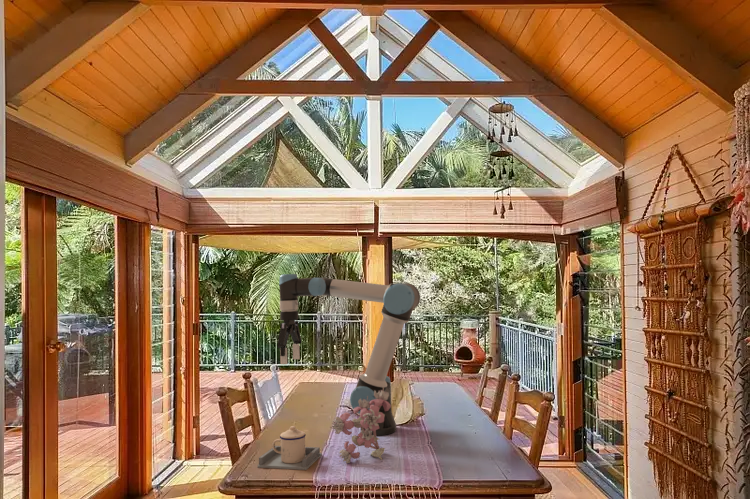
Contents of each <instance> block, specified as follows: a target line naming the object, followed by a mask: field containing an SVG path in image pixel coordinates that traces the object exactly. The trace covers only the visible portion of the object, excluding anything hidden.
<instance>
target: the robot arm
mask: <svg viewBox="0 0 750 499" xmlns="http://www.w3.org/2000/svg"><path fill="white" fill-rule="evenodd" d="M278 280H279V281H278V282H279V284H278V286H279V287H278V288H279V310H280V312H279V316H280V317H279V318H280V321H283V322H282V323H280V324H279V326H280V327H279V328H280V329H279V333H278V334H279V335H278V340H277V349H279V351H280V352H279V353H280V354H279V355H280V356H279V358H280V359H279V360H280V361H279V362H280V365H288V348H287V344H288V341H289V337H290V336H291V337H290V338H291V339H292V342H293V344H292V357H293V358H292V359H293V360H300V359H301V356H300V344H302V342H303V341H302V336H301V332H300V327H299V321H298V320H299V312H298V309H299V302H298V300H299V298H298V297H319V296H327V297H328V296H329V297H336V298H344V299H351V300H359V301H367V302H374V303H381V304H382V303H383V306H382V309H381V314H382V317H383V318H382V321H381V324H380V327H379V331H378V332H377V336H376V339H375V341H374V345H373V347H372V350H371V354H370V355H369V360H368V362H367V366H366V368H365V372H364V373H362V374H360V375H359V377H358V381H357V384H356V386H355V388H354V389H352V392H351V394H350V396H349V401H350V406H351V407H352V410H354V408H356V407H360V406H359V403H358V400H359V399H361V400H362V401H363V399H365V400H366V401H367V402H368V401H369V402H370V401H371V400H374V399H376V398H375V397H374V391H376V393H378V392H379V391H380V393H381V390H383V387H384V390H383V391H384V392H388V393H389V396H388V399H387V400H385V401H387V402H389V404H390V405H391V406H392V387H391V386H392V382H391V377H390V376H387V375H388V373H389V369H390V366H391V364H392V361H393V358H394V354H395V351H396V349H397V345H398V343H399V339H400V337H401V333H402V332H403V331H402V330H403V328H404V326H405V324H406V323H409V321H410V318H411V316H412V312H413V311H414V310H415V309H416V308H417V307H418V306H419V304H420V303H421V302H420V301H421V294H420V290H419V289H418V287H417V286H415V285H414V284H412V283H407V282H405V283H402V282H397V283H392V282H391V283H389V285H388V284H378V283H372V282H361V281H353V280H344V279H336V278H329V277H324V276H323V277H303V278H302V277H301V278H299V277H298V275H297V273H285V274H284V273H283V274H280V275H279V279H278ZM367 396H368V399H367ZM373 404H374V403H373ZM373 404H372V405H373ZM368 410H370V408H368ZM360 411H361V410H360ZM360 411H359V412H357V413H356V414H359V415H360ZM379 412H382V413H383V414H385V417H384V422H382V423H377V424H378V425H379V427H380V428H379V429H378V430H376V436H385V435H390V434H393V433H395V432H396V431H397V424H396V420H395V417H394V415H393V412H392V407H391V408H390V409H389V410H388V411H385V410H384V407H383V405H382V406H381V407H380V409H379ZM368 428H369V427H368ZM361 430H362V429H361V428H360V431H361ZM364 430H365V431H366V429H365V428H364ZM368 431H370V428H369V429H368ZM371 433H372V434H371V435H373V431H372V432H371ZM373 436H374V435H373Z"/></svg>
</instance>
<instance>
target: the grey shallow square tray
mask: <svg viewBox="0 0 750 499" xmlns="http://www.w3.org/2000/svg"><path fill="white" fill-rule="evenodd" d="M275 448H276V449H277V450H278V451H281V445H275ZM320 451H321V450H320V446H319V447H318V446H317V447H314V446H305V454H306V457H305V458H304V459H303V460H302V462H299V463H284V462H282V461H281V454H279V453H276V452H275V451H274V450H273V447H272V448H270V449H268V450H267V451H266V452H265V453H263V454H262V455H261V456H259V457H258V464H257V468H261V469H279V470H280V469H281V470H282V469H284V470H303V471H306V470H308V469H309V468H310V467H311V466H312V465H313V464H314V463H315V462H316V461H317V460H319V459H320V458H321V457H322V455H323V454H322V453H323V452H320Z"/></svg>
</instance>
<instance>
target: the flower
mask: <svg viewBox="0 0 750 499" xmlns="http://www.w3.org/2000/svg"><path fill="white" fill-rule="evenodd" d="M383 390H384V387H383ZM383 390H381V393H380V391H379V392H378V393H376V391H374V397H375V398H376V399H374V400H371V401H370V402H369V401H368V402H367V401H366V400H365V399H363V401H362V400H361V399H359V400H358V403H359V406H360V407H356V408H354V409H352V412H353V414H354V415H356V414H358V413H357V412H359V411H360V410H361V411H360V414H359V417H358V418H356V417H355V418H353V419H352V420H351V419H350V420H348V419H349V418H350V417H351V414H350V413H349V412H343V413H341V415H339V416H335V418H334V419H335V420H332V421H331V422H332V423H331V424H332V425H331V426H330V428H331V429H333V432H334V433H335V434H337V435H339V434H340V433H343V434H344V435H347V436H351V435H352V434H353V431H349V430H352V429H353V428H357V429H360V432H359V433H358V435H355V434H354V435H352V436H351V442H352V443H350V441H348V440H347V441H345V442H344V444H343V446H344V449H341V450H339V452H338V454H340V455H339V457H340V458H339V459H340V461H341V460H343V462H345V463H346V464H350V463H351V459H354V460H357V459H359V458H360V456H361V453H360V451H359V452H358V451H357V452H355V450H356V448H357V447H363V446H364V448H366V449H369V448H370V449H374V450H372V451H371V453H370V457H374V458H379V459H380V460H381V461H383V457H382V455H383V454H384V453H385V449H386V448H385V447H381V448H380V444H379V442H378V440H380V438H379V437H377V435H376V430H378V429H379V428H380V427H379V425H378V424H377V423H382V422H384V417H385V414H383V413H382V412H379V409H380V407H381V406H382V405H383V407H384V410H385V411H388V410H389V409H390V408H391V409H392V404H391V405H390V404H389V402H387V401H385V400H387V399H388V396H389V393H388V392H384V391H383ZM367 399H368V396H367ZM373 403H374V404H373ZM372 404H373V405H372ZM368 408H370V410H368ZM368 427H369V428H370V431H368V429H369V428H368ZM364 428H365V429H366V431H365V430H364ZM361 429H362V430H361ZM372 431H373V435H371V434H372V433H371V432H372Z"/></svg>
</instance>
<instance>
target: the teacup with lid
mask: <svg viewBox="0 0 750 499" xmlns="http://www.w3.org/2000/svg"><path fill="white" fill-rule="evenodd" d="M278 442H280V446H281V451H278V450H277V449H276V448H275V446H276V445H275V443H278ZM271 447H272V448H273V450H274V451H275V452H276V453H279V454H281V461H282V462H284V463H299V462H302V460H303V459H304V458H305V457H306V454H305V447H306V432H305V431H304V430H303V431H302V430H300V429H298V428H296V426H295V425H292V426H290V427H289V429H287V430H286V431H283V432H281V433H280V436H279V438H276V439H275V440H273V441H272V443H271Z"/></svg>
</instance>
